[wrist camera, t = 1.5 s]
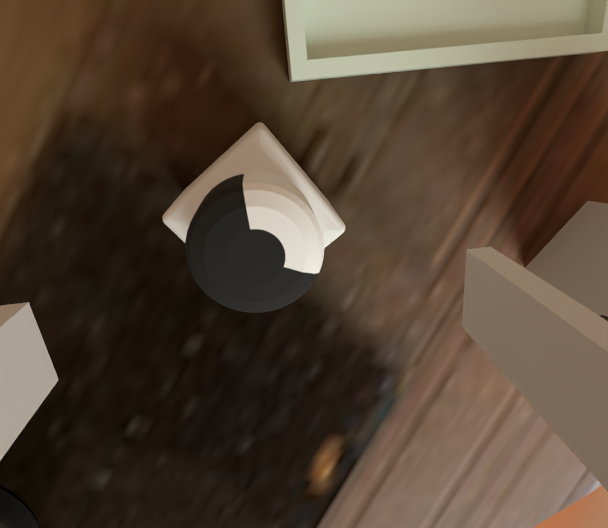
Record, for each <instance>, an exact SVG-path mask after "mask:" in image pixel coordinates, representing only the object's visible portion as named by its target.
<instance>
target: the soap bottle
mask: <svg viewBox="0 0 608 528" xmlns="http://www.w3.org/2000/svg"><path fill="white" fill-rule="evenodd" d="M525 268H526V269H527V270H528V271H530V272H531V273H533V274H534V275H536V276H538V277H539V278H541V279H542V280H544V281H545V282H547V283H549V284H550V285H552V286H553V287H555V288H556V289H558V290H560V291H561V292H563V293H564V294H566V295H567V296H569V297H571V298H572V299H574V300H575V301H577V302H578V303H580V304H582V305H583V306H585V307H586V308H588V309H589V310H591V311H592V312H594V313H596V314H597V315H604V316H607V317H608V203H601V202H594V201H587V202H586V203H585V204H584V205H583V206H582V207H581V208H580V209H579V210H578V211H577V213H576V214H575V215H574V216H573V217H572V218H571V219H570V220H569V221H568V222H567V223H566V224H565V225H564V226H563V228H562V229H561V230H560V231H559V232H558V233H557V234H556V235H555V236H554V237H553V238H552V239H551V240H550V241H549V243H548V244H547V245H546V246H545V247H544V248H543V249H542V250H541V251H540V252H539V253H538V254H537V255H536V257H535V258H534V259H533V260H532V261H531V262H530V263H529V264H528V265H527V266H526V267H525Z"/></svg>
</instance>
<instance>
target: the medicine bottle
mask: <svg viewBox="0 0 608 528" xmlns="http://www.w3.org/2000/svg"><path fill="white" fill-rule="evenodd" d="M163 222H164V223H165V224H166V225H167V226H168V227H169V228H170V229H171V230H172V231H173V232H174V233H175V234H176V235H177V236H178V237H179V238H180V239H181V240H182V241H184V242H185V253H186V259H187V263H188V267H189V270H190V272H191V274H192V276H193V278H194V280H195V281H196V283H197V284H198V286H199V287H200V288H201V289H202V290H203V291H204V292H205V293H206V294H207V295H208V296H209V297H211V298H212V299H213V300H215V301H216V302H218V303H220V304H222V305H224V306H226V307H228V308H231V309H234V310H238V311H243V312H252V313H257V312H267V311H273V310H276V309H279V308H282V307H284V306H287V305H289V304H290V303H292V302H294V301H295V300H297V299H298V298H299V297H301V296H302V295H303V294H304V293H305V292H306V291H307V290H308V289H309V288H310V287H311V285H312V284H313V282H314V281H315V279H316V277H317V276H318V274H319V271H320V269H321V266H322V262H323V257H324V248H325V247H326V246H328V245H329V244H330V243H331V242H332V241H334V240H335V239H336V238H337V237H339V236H340V235H341V234H342V233H343V232H344V231H345V225H344V223H343V221H342V220H341V219H340V217H339V216H338V214H337V213H336V211H335V210H334V209H333V207H332V206H331V204H330V203H329V201H328V200H327V199H326V197H325V196H324V195H323V194H322V193H321V191H320V190H319V189H318V188H317V187H316V185H315V184H314V183H313V182H312V181H311V179H310V178H309V177H308V176H307V175H306V173H305V172H304V171H303V170H302V169H301V167H300V166H299V165H298V164H297V163H296V161H295V160H294V159H293V158H292V157H291V156H290V154H289V153H288V152H287V151H286V150H285V148H284V147H283V146H282V145H281V144H280V142H279V141H278V140H277V139H276V138H275V136H274V135H273V134H272V133H271V132H270V130H269V129H268V128H267V127H266V126H265V125H264V124H263V123H262V122H258V123H256V124H255V125H254V126H253V127H252V128H251V129H250V130H248V131H247V132H246V133H245V134H244V135H243V136H242V137H241V138H240V139H239V140H238V141H237V142H235V143H234V144H233V145H232V146H231V147H230V148H229V149H228V150H227V151H226V152H225V153H223V154H222V155H221V156H220V157H219V158H218V159H217V160H216V161H215V162H214V163H213V164H212V165H210V166H209V167H208V168H207V169H206V170H205V171H204V172H203V173H202V174H201V175H200V176H199V177H197V178H196V179H195V180H194V181H193V182H192V183H191V184H190V185H189V186H188V187H187V188H186V189H185V190H184V191H183V192H182V193H181V194H180V195H179V197H178V198H177V199H176V200H175V201H174V203H173V204H172V205H171V206H170V207H169V209H168V210H167V211H166V212H165V213H164V215H163Z"/></svg>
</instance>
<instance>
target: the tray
mask: <svg viewBox="0 0 608 528" xmlns="http://www.w3.org/2000/svg"><path fill="white" fill-rule="evenodd" d="M282 8H283V18H284V29H285V39H286V50H287V60H288V71H289V81H290V82H295V81H305V80H316V79H326V78H337V77H347V76H358V75H368V74H379V73H389V72H400V71H410V70H421V69H431V68H442V67H452V66H463V65H473V64H484V63H494V62H505V61H515V60H526V59H536V58H547V57H557V56H568V55H578V54H589V53H596V52H603V51H608V0H282Z"/></svg>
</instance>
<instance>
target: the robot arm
mask: <svg viewBox="0 0 608 528" xmlns="http://www.w3.org/2000/svg"><path fill="white" fill-rule="evenodd" d="M462 328H463V329H464V330H465V331H466V332H467V333H468V334H469V336H470V337H471V338H472V339H473V340H474V341H475V342H476V343H477V345H478V346H479V347H480V348H481V349H482V350H483V351H484V352H485V354H486V355H487V356H488V357H489V358H490V359H491V360H492V362H493V363H494V364H495V365H496V366H497V367H498V368H499V369H500V371H501V372H502V373H503V374H504V375H505V376H506V377H507V378H508V380H509V381H510V382H511V383H512V384H513V385H514V386H515V387H516V389H517V390H518V391H519V392H520V393H521V394H522V395H523V396H524V398H525V399H526V400H527V401H528V402H529V403H530V404H531V405H532V407H533V408H534V409H535V410H536V411H537V412H538V413H539V414H540V416H541V417H542V418H543V419H544V420H545V421H546V422H547V424H548V425H549V426H550V427H551V428H552V429H553V430H554V431H555V433H556V434H557V435H558V436H559V437H560V438H561V439H562V440H563V442H564V443H565V444H566V445H567V446H568V447H569V448H570V449H571V451H572V452H573V453H574V454H575V455H576V456H577V457H578V458H579V460H580V461H581V462H582V463H583V464H584V465H585V466H586V467H587V469H588V470H589V471H590V472H591V473H592V474H593V475H594V476H595V478H596V479H597V480H598V481H599V482H600V483H601V484H602V486H603V487H604V488H605V489H606V490H607V491H608V317H607V316H604V315H597V314H596V313H594V312H592V311H591V310H589V309H588V308H586V307H585V306H583V305H582V304H580V303H578V302H577V301H575V300H574V299H572V298H571V297H569V296H567V295H566V294H564V293H563V292H561V291H560V290H558V289H556V288H555V287H553V286H552V285H550V284H549V283H547V282H545V281H544V280H542V279H541V278H539V277H538V276H536V275H534V274H533V273H531V272H530V271H528V270H527V269H525V268H523V267H522V266H520V265H519V264H517V263H516V262H514V261H512V260H511V259H509V258H508V257H506V256H505V255H503V254H501V253H500V252H498V251H497V250H495V249H494V248H492V247H484V248H476V249H468V250H467V255H466V270H465V285H464V300H463V315H462ZM57 381H58V377H57V375H56V372H55V369H54V367H53V364H52V362H51V359H50V357H49V354H48V351H47V349H46V346H45V344H44V341H43V338H42V336H41V333H40V331H39V328H38V325H37V323H36V320H35V318H34V315H33V313H32V310H31V307H30V305H29V302H28V303H19V304H11V305H3V306H0V460H1V459H2V457H3V456H4V455H5V453H6V452H7V450H8V449H9V448H10V446H11V445H12V443H13V442H14V441H15V439H16V438H17V437H18V435H19V434H20V432H21V431H22V430H23V428H24V427H25V426H26V424H27V423H28V421H29V420H30V419H31V417H32V416H33V414H34V413H35V412H36V410H37V409H38V408H39V406H40V405H41V403H42V402H43V401H44V399H45V398H46V396H47V395H48V394H49V392H50V391H51V390H52V388H53V387H54V385H55V384H56V383H57ZM0 528H39V526H38V524H37V522H36V520H35V518H34V516H33V515H32V513H31V512H30V511H29V510H28V509H27V508H26V506H25V505H24V504H22V503H21V502H20V501H19V500H18V499H16V498H15V497H14V496H12V495H11V494H9V493H8V492H6V491H4V490H3V489H1V488H0Z"/></svg>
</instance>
